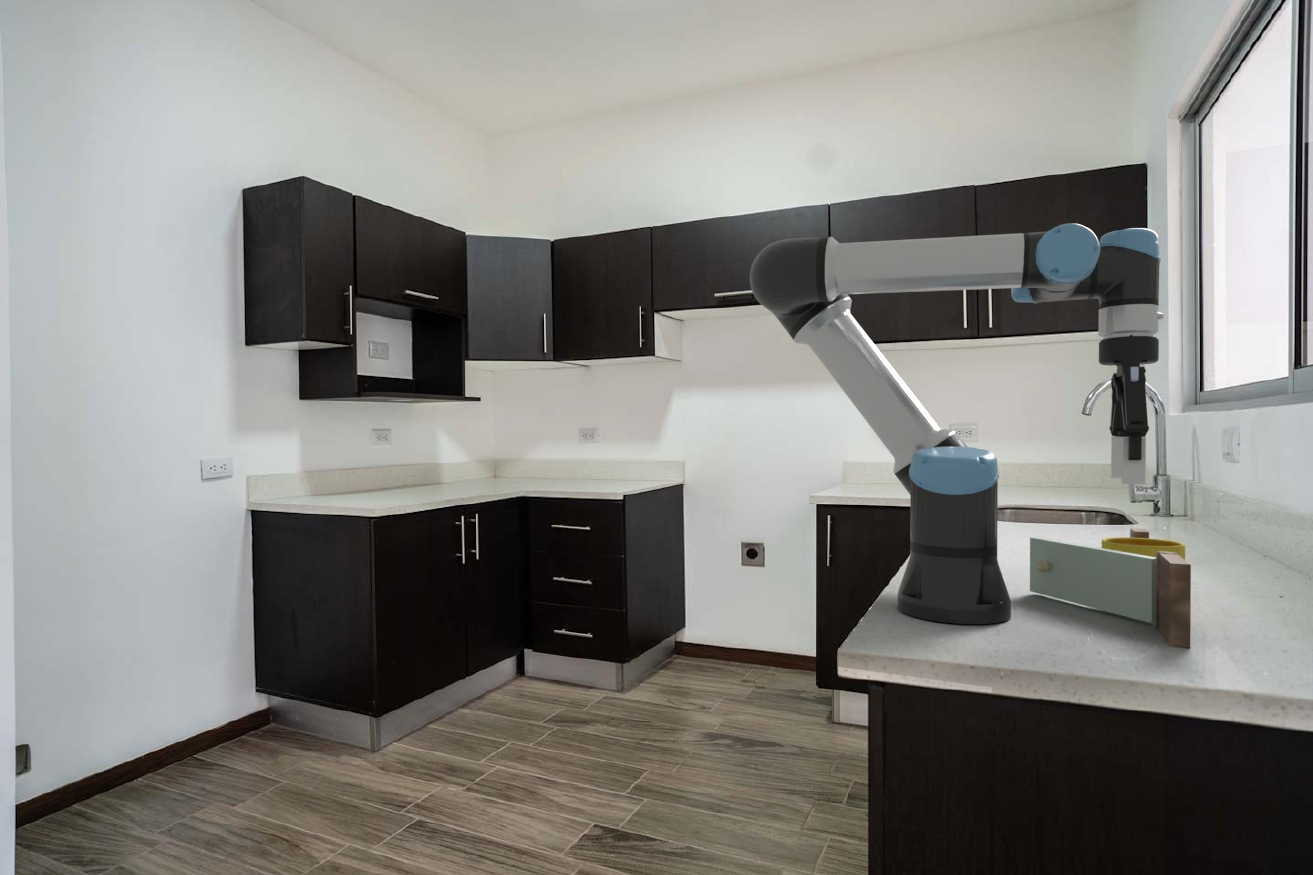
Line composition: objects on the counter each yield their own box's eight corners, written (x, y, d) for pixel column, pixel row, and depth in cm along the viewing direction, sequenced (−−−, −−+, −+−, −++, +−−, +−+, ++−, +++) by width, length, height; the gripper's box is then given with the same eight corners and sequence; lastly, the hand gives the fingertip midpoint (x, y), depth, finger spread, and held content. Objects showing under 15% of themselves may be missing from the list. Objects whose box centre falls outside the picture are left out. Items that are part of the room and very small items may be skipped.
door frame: (1168, 645, 91) (1168, 563, 91) (1128, 588, 124) (1128, 528, 124) (1192, 648, 90) (1192, 564, 90) (1145, 590, 123) (1146, 528, 123)
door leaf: (1144, 623, 100) (1145, 559, 100) (1023, 591, 120) (1023, 537, 119) (1160, 621, 101) (1161, 558, 101) (1037, 590, 120) (1038, 537, 120)
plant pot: (1096, 597, 118) (1097, 534, 118) (1175, 603, 114) (1176, 538, 114) (1106, 611, 108) (1107, 543, 108) (1193, 619, 104) (1193, 548, 104)
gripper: (1174, 325, 99) (1173, 487, 99) (1145, 344, 121) (1144, 477, 121) (1108, 328, 102) (1106, 485, 102) (1091, 346, 124) (1090, 475, 125)
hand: (1127, 481), depth 112 cm, fingers open, 13 cm apart
